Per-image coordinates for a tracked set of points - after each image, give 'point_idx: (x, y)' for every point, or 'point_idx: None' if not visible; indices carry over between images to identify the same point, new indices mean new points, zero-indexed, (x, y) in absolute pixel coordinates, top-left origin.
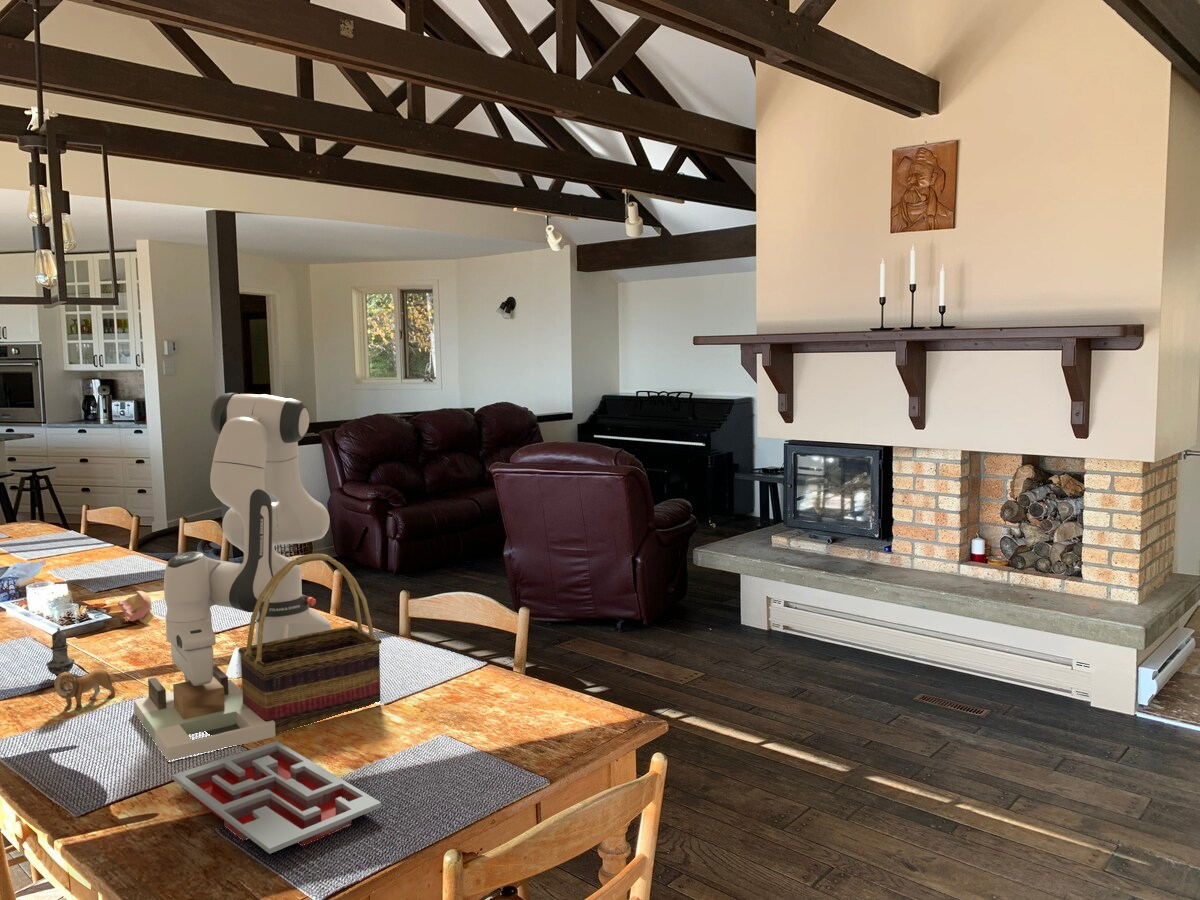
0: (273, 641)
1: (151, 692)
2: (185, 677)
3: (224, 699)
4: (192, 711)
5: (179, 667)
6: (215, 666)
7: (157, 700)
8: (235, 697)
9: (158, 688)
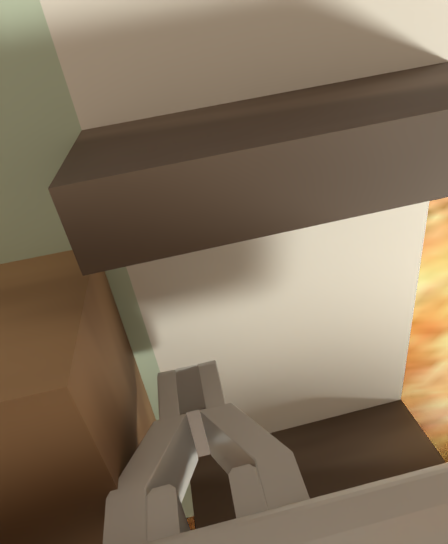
0: None
1: (379, 91)
2: (252, 457)
3: None
4: None
5: (342, 533)
6: None
7: (107, 142)
8: None
9: (161, 196)
